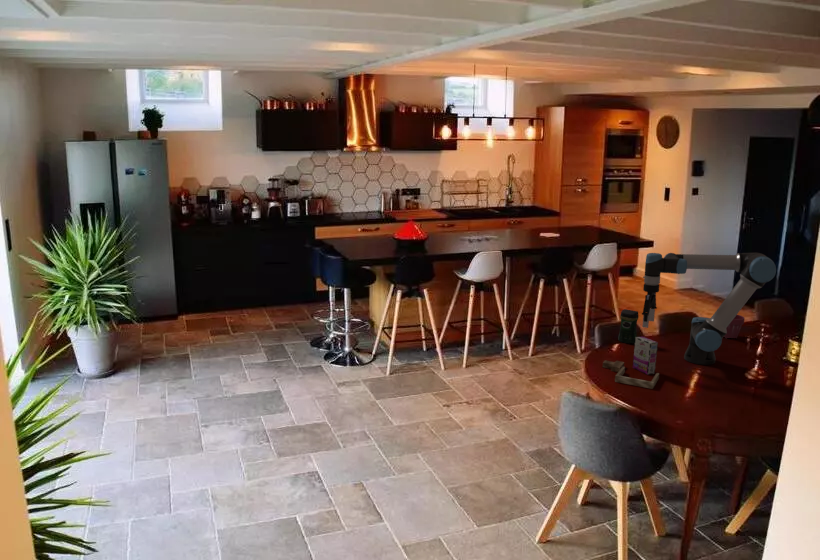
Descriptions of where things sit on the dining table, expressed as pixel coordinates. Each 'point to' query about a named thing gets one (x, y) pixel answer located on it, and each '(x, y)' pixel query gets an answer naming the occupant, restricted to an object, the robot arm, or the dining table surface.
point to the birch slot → (635, 380)
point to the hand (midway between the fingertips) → (648, 324)
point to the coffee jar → (628, 326)
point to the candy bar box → (645, 355)
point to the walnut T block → (613, 365)
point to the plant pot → (734, 327)
